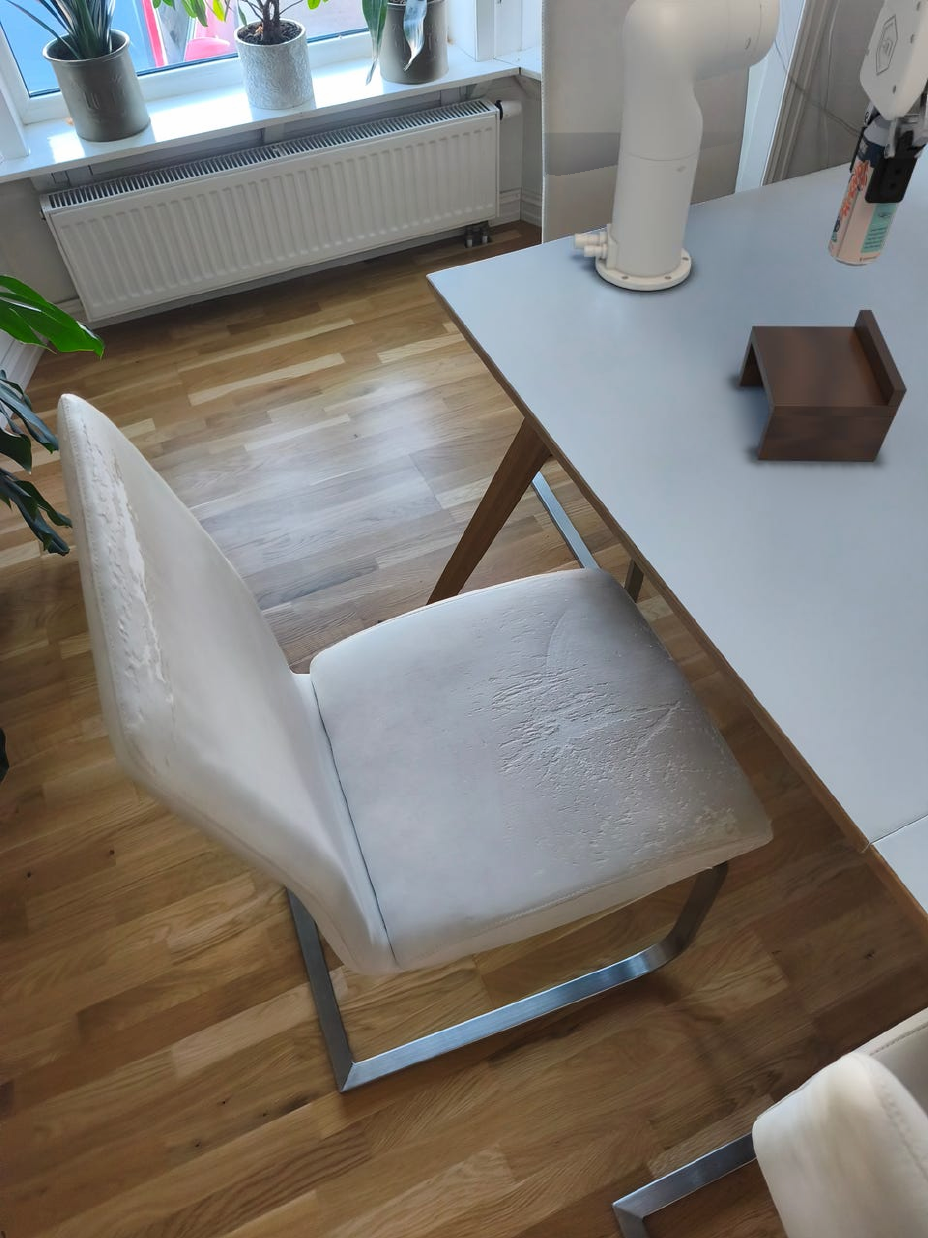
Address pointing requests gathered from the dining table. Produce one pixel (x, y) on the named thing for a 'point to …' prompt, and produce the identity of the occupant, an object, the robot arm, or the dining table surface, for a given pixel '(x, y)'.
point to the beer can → (864, 204)
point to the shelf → (824, 390)
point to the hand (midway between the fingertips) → (874, 185)
